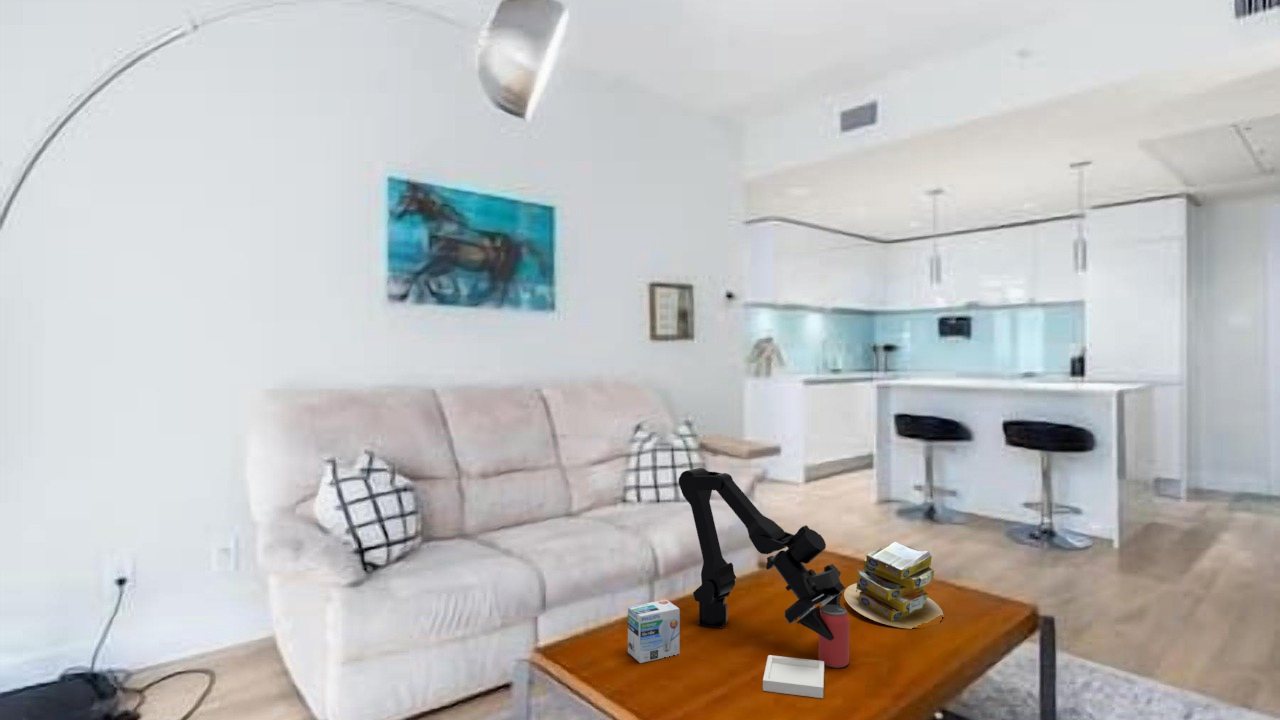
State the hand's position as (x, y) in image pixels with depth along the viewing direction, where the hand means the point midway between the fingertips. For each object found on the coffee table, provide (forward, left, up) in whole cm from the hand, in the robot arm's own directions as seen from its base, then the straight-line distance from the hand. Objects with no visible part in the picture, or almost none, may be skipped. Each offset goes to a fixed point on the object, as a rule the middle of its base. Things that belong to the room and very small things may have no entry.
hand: (839, 634), depth 155 cm
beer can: (-1, +1, -7) cm, 7 cm away
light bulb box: (-41, -5, -7) cm, 42 cm away
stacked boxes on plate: (+14, +36, -7) cm, 40 cm away
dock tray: (-9, -10, -7) cm, 15 cm away
